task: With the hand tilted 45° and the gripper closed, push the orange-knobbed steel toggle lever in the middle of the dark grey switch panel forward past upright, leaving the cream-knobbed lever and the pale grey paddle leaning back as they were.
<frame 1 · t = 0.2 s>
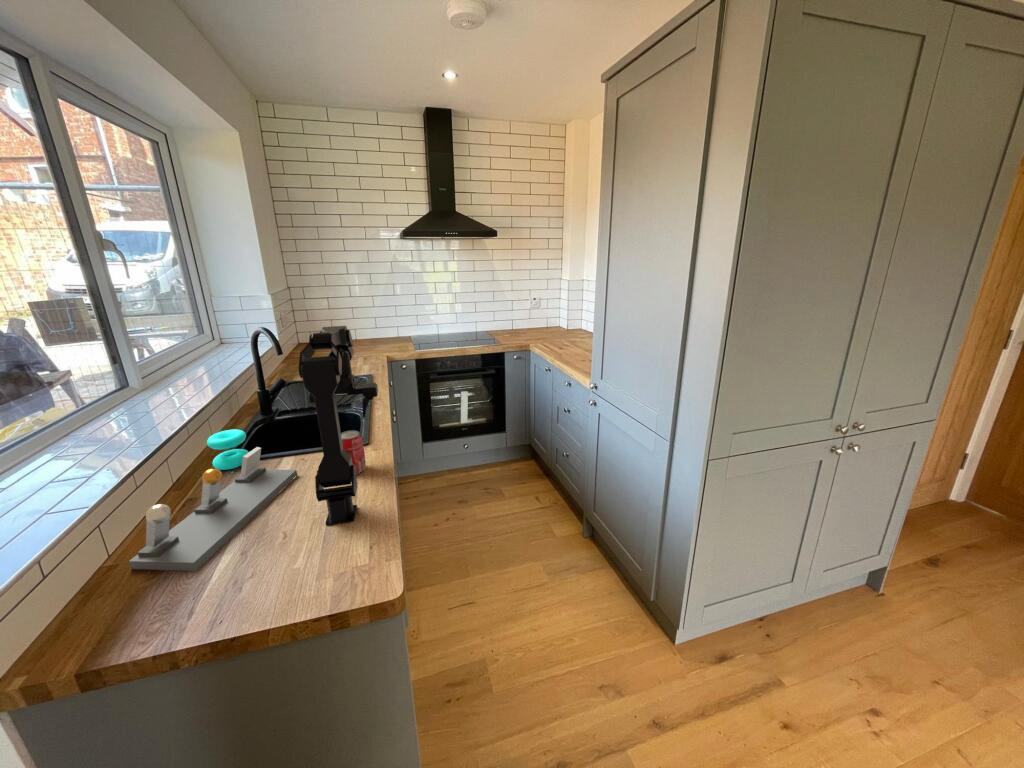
hand: (348, 419, 123), 15 cm above the countertop, tool pointing down, fingers open, 9 cm apart
switch panel: (228, 514, 103), on the countertop
donuts: (233, 464, 128), on the countertop
cream lever: (158, 523, 86), point 8 cm above the countertop, hinge at -18.0°
grey paddle: (251, 461, 115), point 7 cm above the countertop, hinge at -18.0°
orange lever: (211, 485, 100), point 8 cm above the countertop, hinge at -18.0°
soda can: (354, 471, 123), on the countertop
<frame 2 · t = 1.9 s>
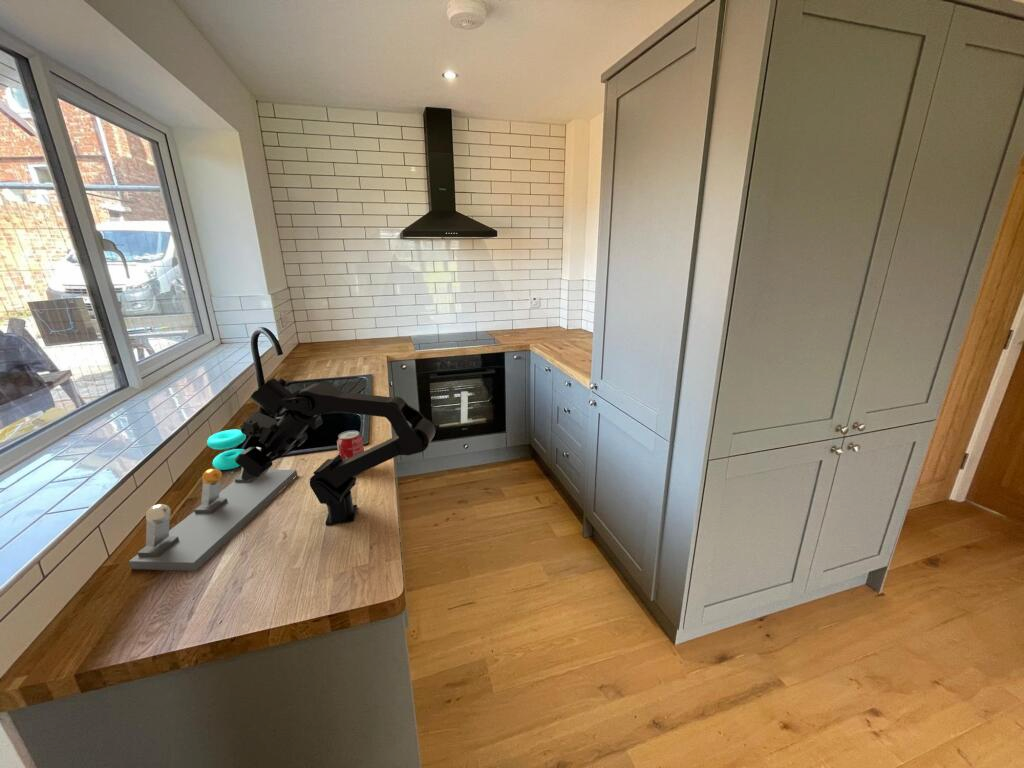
hand: (257, 469, 99), 12 cm above the countertop, tool tilted 45°, fingers open, 9 cm apart
nothing on the countertop moved.
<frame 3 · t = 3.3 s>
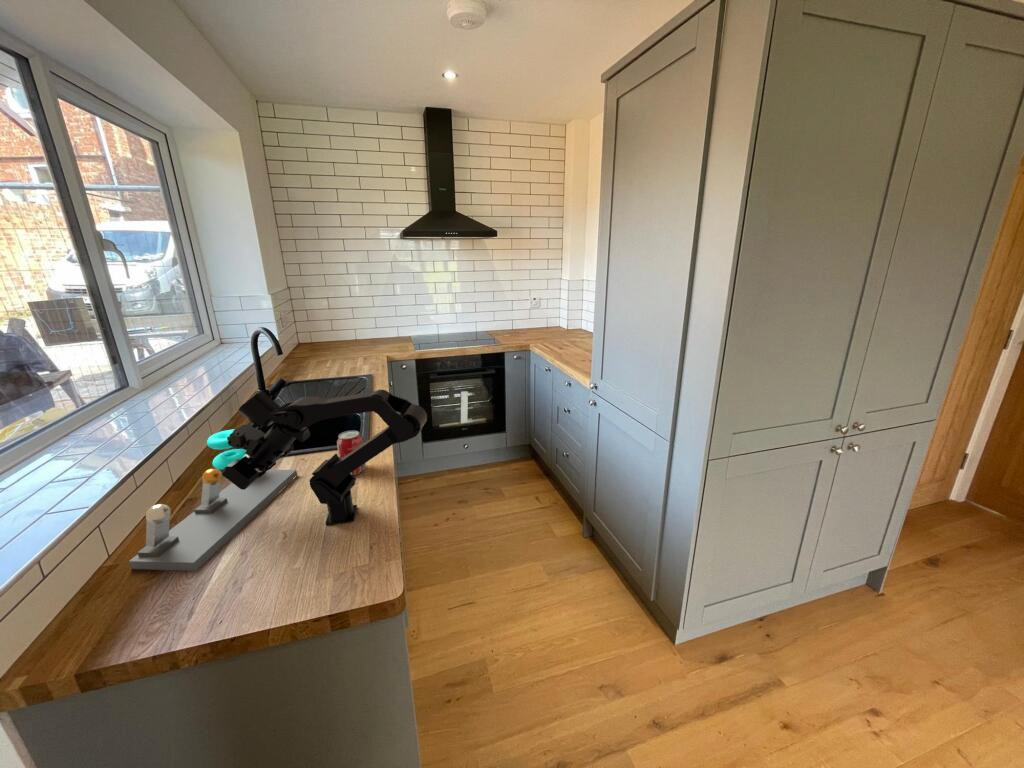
hand: (242, 480, 99), 10 cm above the countertop, tool tilted 45°, fingers closed
nothing on the countertop moved.
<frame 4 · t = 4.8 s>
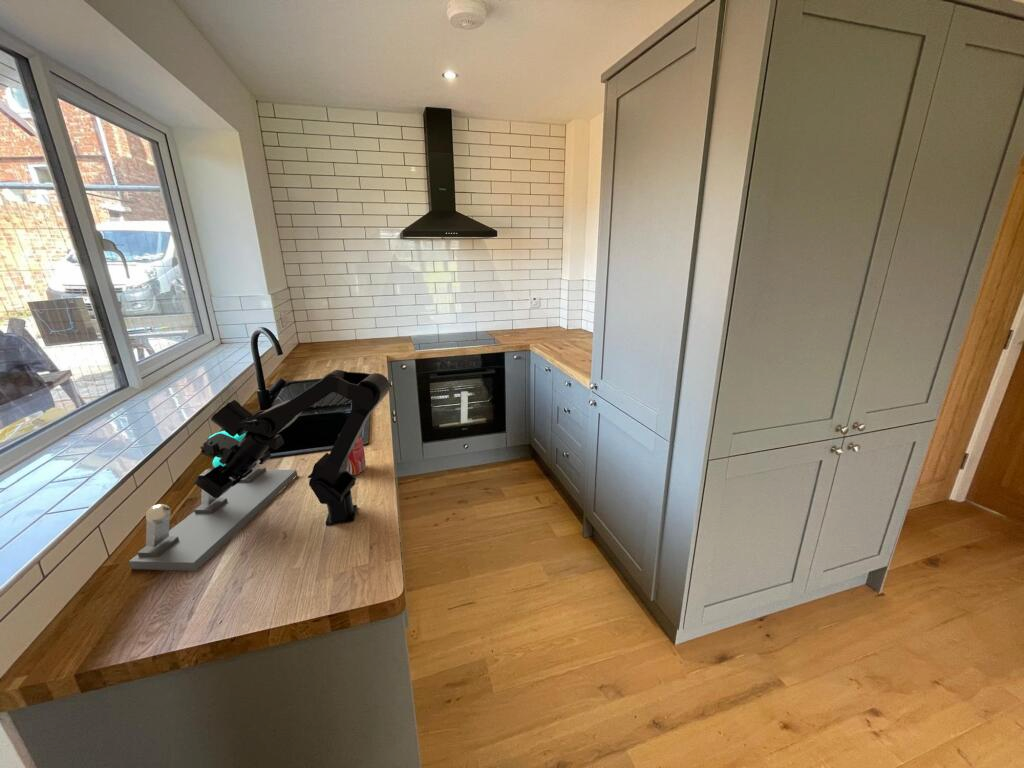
hand: (218, 488, 100), 7 cm above the countertop, tool tilted 45°, fingers closed, pressing on orange lever
orange lever: (210, 485, 100), point 8 cm above the countertop, hinge at -15.9°, touching gripper
everything else where it was.
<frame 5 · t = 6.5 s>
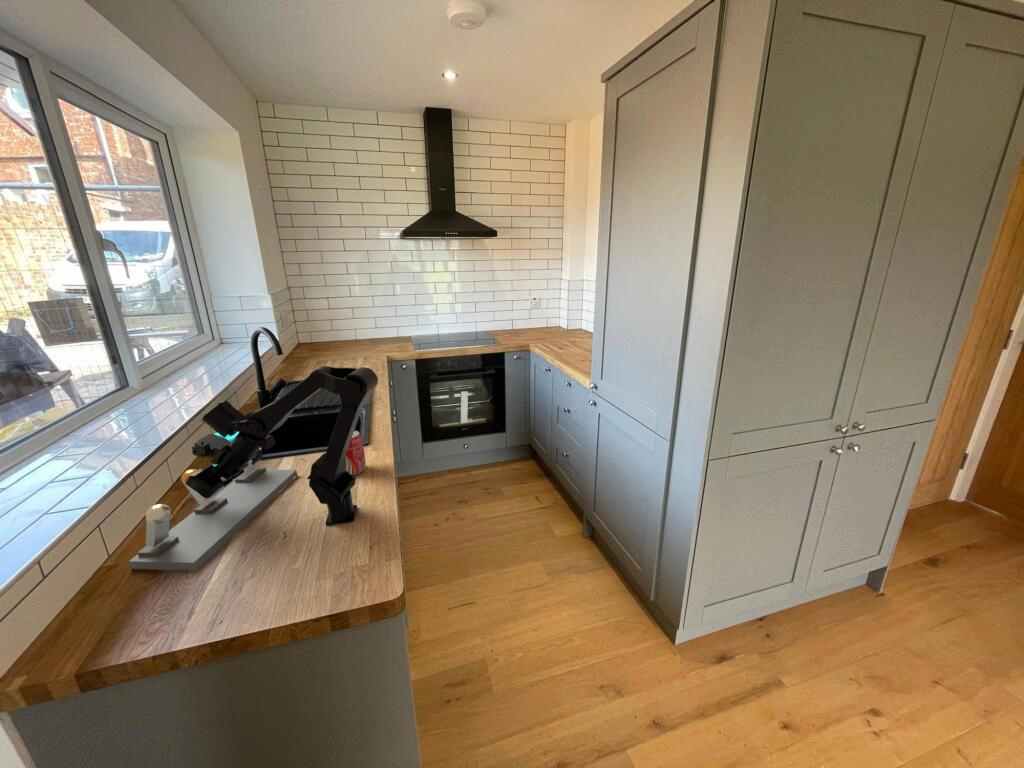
hand: (210, 488, 101), 7 cm above the countertop, tool tilted 45°, fingers closed
orange lever: (198, 485, 101), point 8 cm above the countertop, hinge at 22.9°
everything else where it was.
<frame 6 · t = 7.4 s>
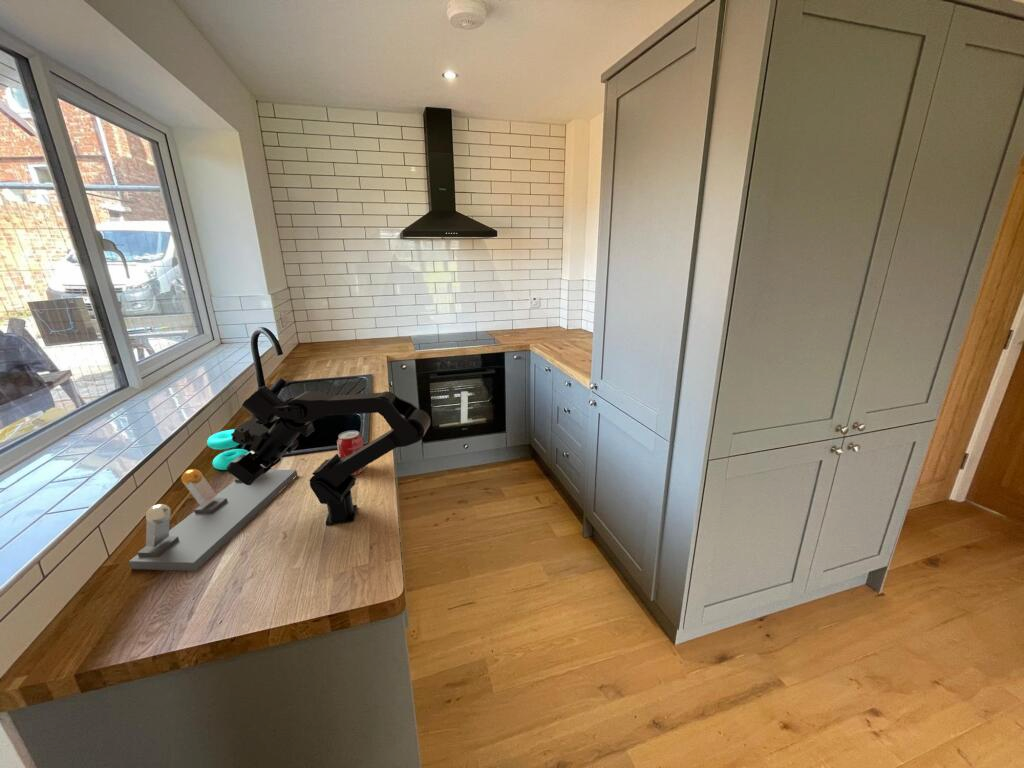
hand: (247, 476, 99), 11 cm above the countertop, tool tilted 45°, fingers closed
nothing on the countertop moved.
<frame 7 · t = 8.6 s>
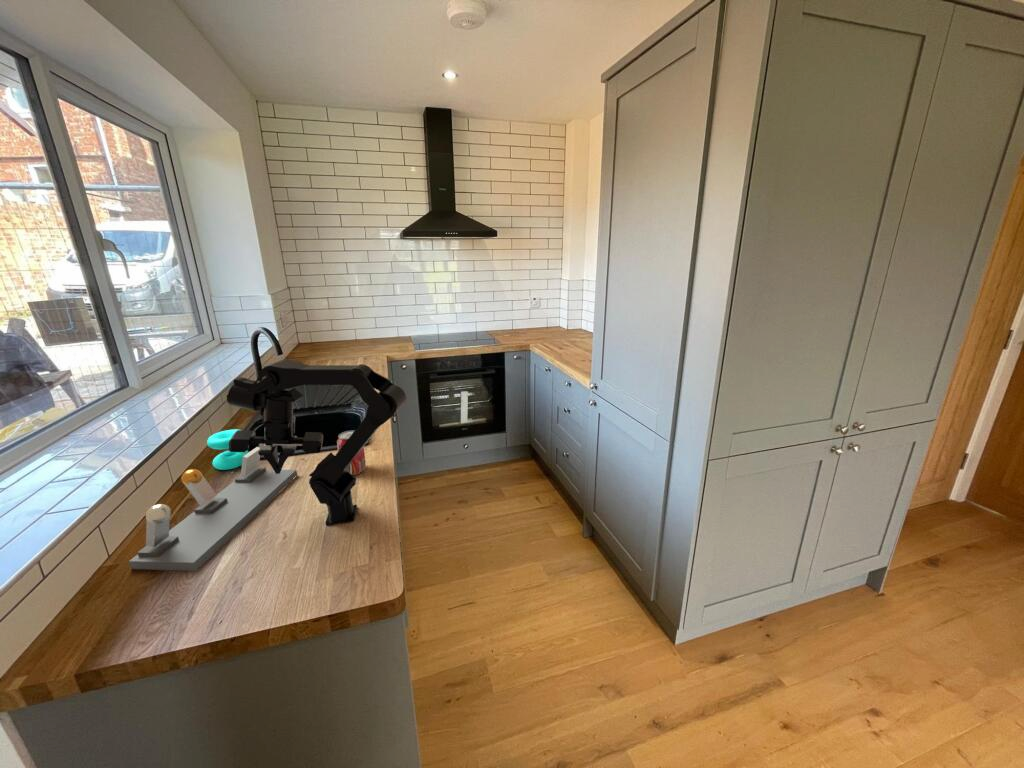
hand: (278, 472, 99), 12 cm above the countertop, tool pointing down, fingers closed
nothing on the countertop moved.
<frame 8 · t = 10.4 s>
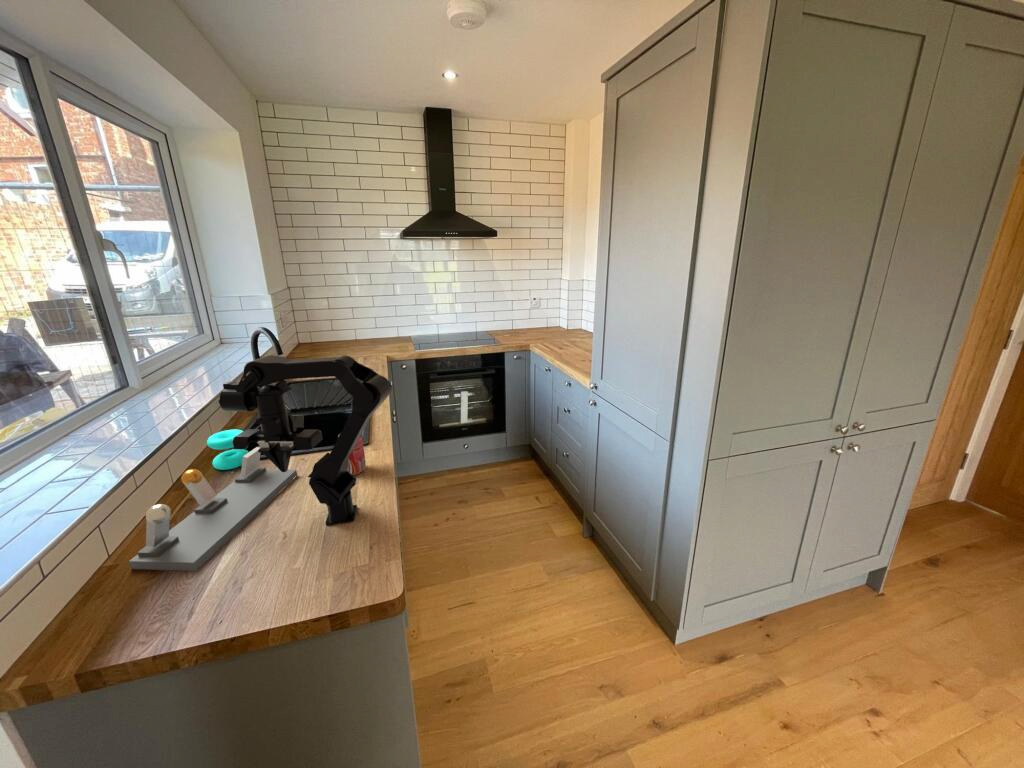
hand: (284, 471, 99), 12 cm above the countertop, tool pointing down, fingers closed
nothing on the countertop moved.
at the end: orange lever at +23° (first picture: -18°); cream lever at -18° (first picture: -18°); grey paddle at -18° (first picture: -18°) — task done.
